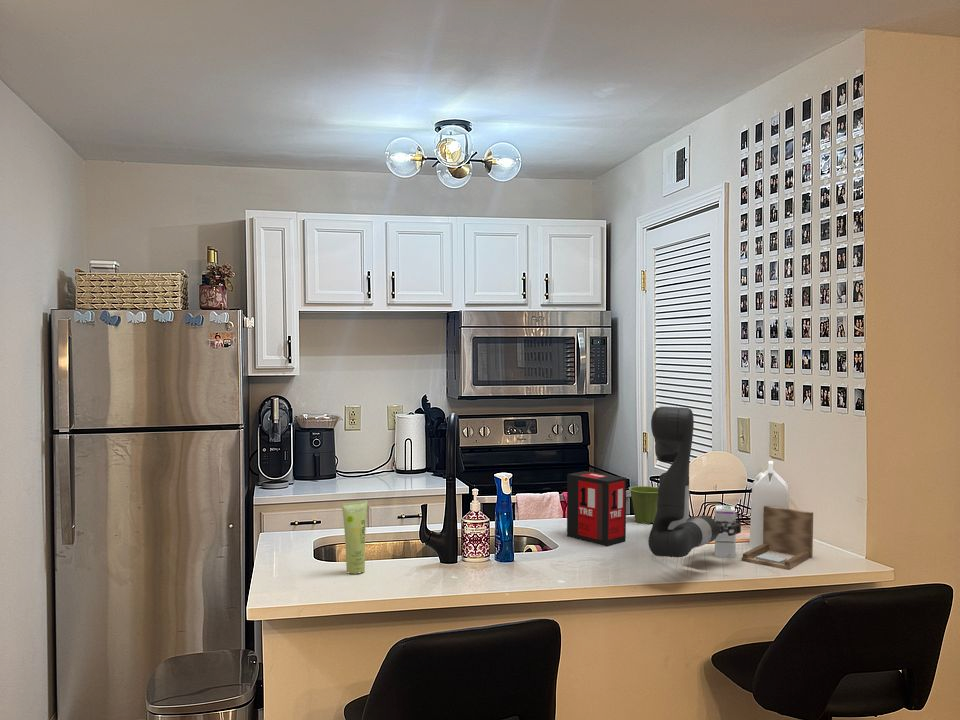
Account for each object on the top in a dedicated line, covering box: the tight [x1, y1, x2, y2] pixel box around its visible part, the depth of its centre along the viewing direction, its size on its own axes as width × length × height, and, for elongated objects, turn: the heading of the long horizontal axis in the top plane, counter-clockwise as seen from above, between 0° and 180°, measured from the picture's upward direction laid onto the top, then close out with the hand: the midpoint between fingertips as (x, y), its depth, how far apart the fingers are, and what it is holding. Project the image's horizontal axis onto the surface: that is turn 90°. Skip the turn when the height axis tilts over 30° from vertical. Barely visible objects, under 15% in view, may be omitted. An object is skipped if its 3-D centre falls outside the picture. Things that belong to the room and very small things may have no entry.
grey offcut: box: [755, 553, 788, 564], centre depth 241 cm, size 7×4×1 cm, turn 44°
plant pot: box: [628, 485, 659, 525], centre depth 293 cm, size 12×12×11 cm
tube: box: [341, 499, 369, 574], centre depth 234 cm, size 6×5×20 cm
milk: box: [748, 460, 790, 548], centre depth 260 cm, size 12×12×26 cm
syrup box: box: [714, 504, 737, 558], centre depth 248 cm, size 6×6×14 cm
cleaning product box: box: [566, 470, 627, 547], centre depth 270 cm, size 16×9×20 cm, turn 42°
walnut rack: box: [740, 506, 814, 571], centre depth 243 cm, size 14×17×14 cm
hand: (724, 521), depth 247 cm, fingers open, 8 cm apart
